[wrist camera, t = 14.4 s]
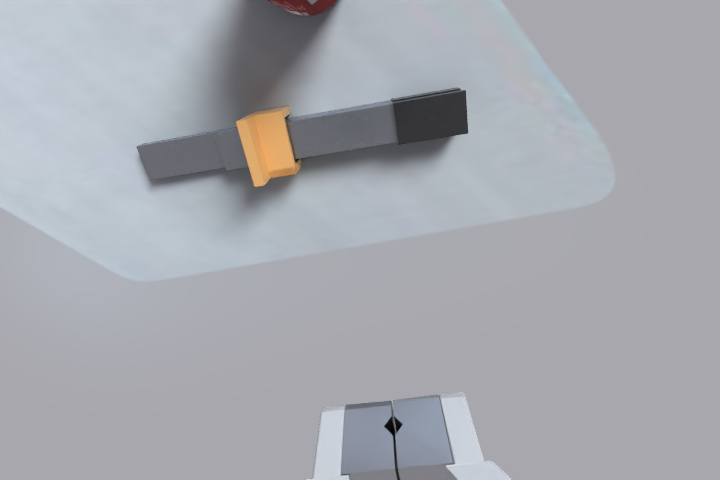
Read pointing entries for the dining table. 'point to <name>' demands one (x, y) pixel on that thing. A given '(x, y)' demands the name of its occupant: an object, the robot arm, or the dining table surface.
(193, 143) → the tongs
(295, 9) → the soda can
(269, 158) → the orange c-shaped bracket
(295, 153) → the tongs arm
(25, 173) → the dining table surface
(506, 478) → the robot arm
